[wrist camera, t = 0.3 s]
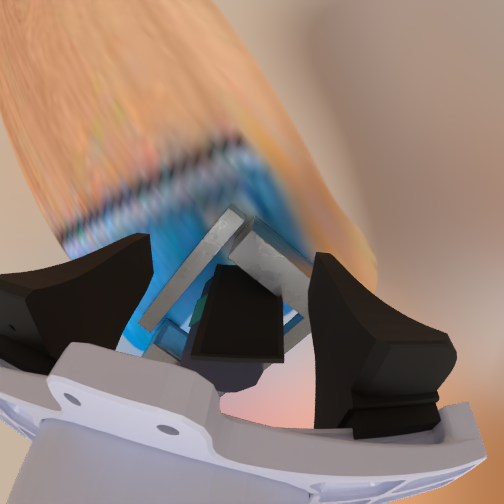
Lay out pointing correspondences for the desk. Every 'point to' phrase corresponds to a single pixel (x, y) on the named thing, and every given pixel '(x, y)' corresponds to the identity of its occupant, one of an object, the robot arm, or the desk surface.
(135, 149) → the desk surface
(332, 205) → the desk surface
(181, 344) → the jaw slide
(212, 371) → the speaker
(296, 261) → the vise body
